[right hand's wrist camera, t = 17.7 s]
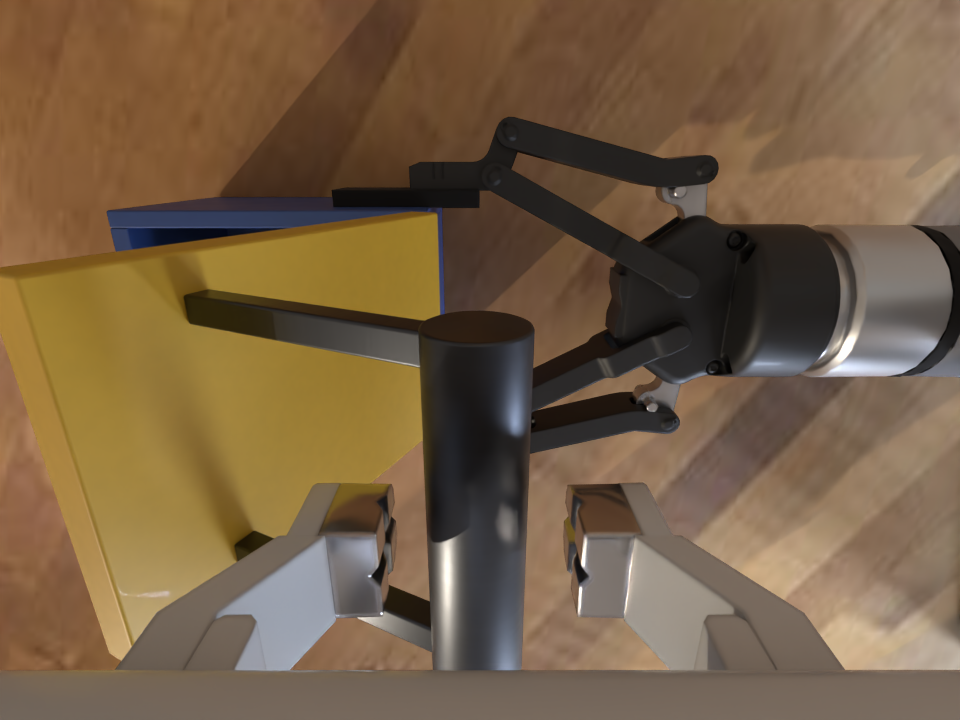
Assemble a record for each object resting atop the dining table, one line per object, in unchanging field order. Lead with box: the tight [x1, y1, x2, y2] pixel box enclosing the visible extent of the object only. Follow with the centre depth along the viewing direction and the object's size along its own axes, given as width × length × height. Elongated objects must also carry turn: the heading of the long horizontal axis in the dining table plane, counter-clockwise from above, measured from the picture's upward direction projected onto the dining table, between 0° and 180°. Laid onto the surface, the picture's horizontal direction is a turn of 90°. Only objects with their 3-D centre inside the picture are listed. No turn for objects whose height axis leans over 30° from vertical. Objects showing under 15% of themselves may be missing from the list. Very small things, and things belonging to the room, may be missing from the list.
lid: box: [0, 212, 534, 670], centre depth 15 cm, size 14×9×9 cm
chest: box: [107, 197, 445, 315], centre depth 28 cm, size 13×9×10 cm
